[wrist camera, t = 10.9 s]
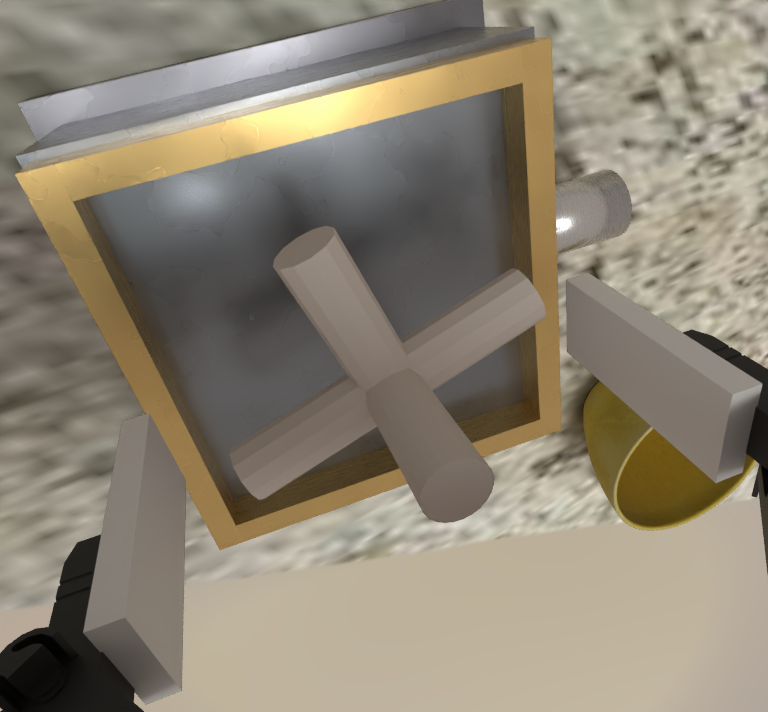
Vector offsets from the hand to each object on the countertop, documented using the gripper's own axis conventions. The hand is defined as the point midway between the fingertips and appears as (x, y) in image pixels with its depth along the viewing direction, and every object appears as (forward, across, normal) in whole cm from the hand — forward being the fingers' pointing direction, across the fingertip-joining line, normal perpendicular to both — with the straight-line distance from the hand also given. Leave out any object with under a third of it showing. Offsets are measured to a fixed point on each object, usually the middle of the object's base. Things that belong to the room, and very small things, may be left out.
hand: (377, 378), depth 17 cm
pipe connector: (+5, 0, 0) cm, 5 cm away
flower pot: (+12, +17, -16) cm, 27 cm away
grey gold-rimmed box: (+12, +2, 0) cm, 12 cm away
